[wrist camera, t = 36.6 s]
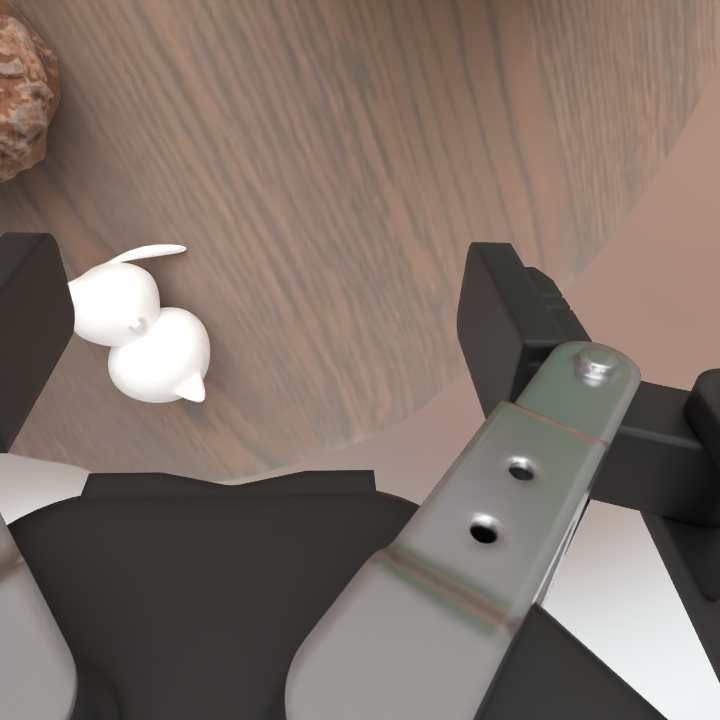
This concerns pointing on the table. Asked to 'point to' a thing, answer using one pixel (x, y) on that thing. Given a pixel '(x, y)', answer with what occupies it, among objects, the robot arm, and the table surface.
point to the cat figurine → (141, 330)
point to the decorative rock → (24, 92)
